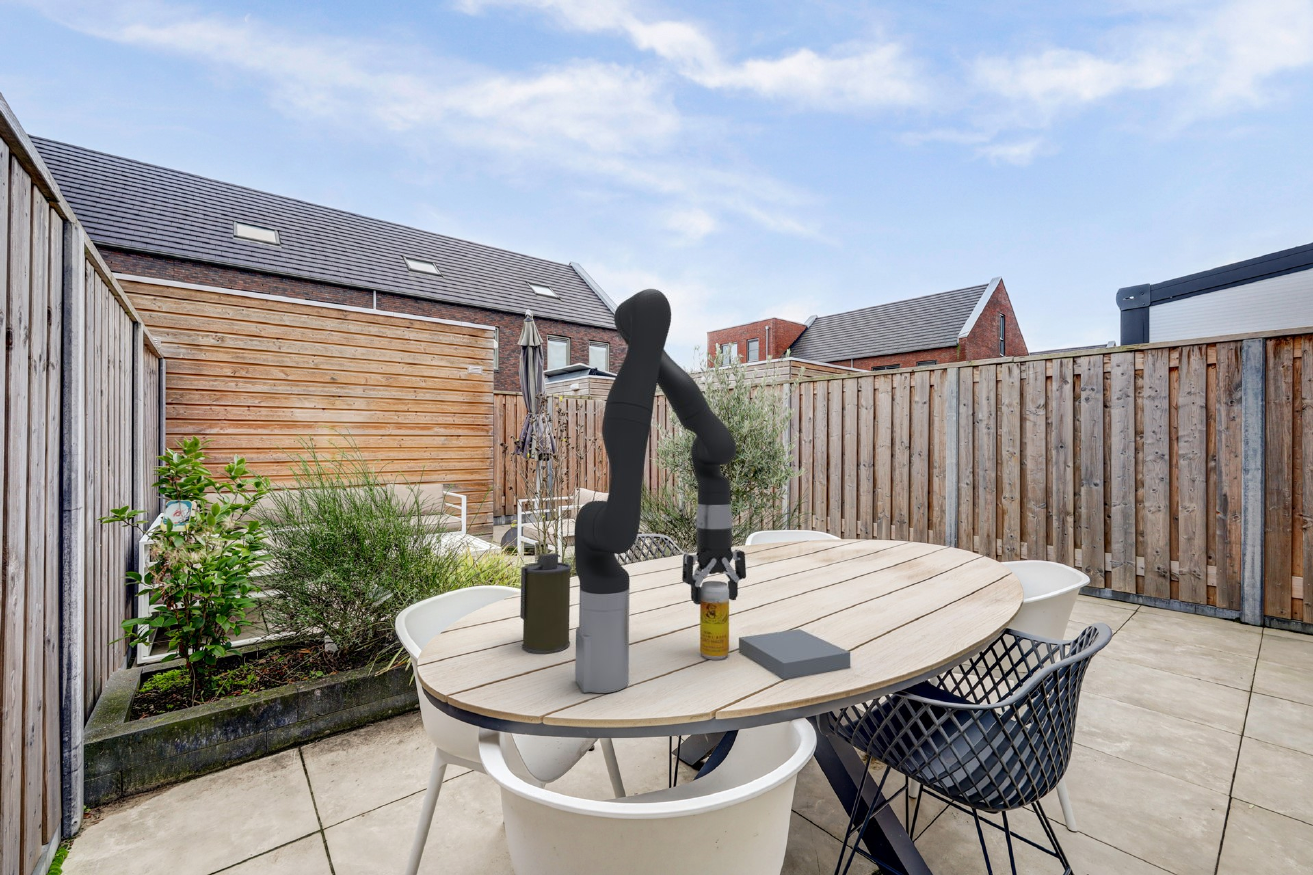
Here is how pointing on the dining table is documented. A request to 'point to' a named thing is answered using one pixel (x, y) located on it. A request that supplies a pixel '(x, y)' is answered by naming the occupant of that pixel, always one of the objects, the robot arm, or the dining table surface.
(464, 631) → the dining table surface
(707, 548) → the robot arm
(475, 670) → the dining table surface
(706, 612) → the beer can
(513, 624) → the dining table surface
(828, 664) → the stand
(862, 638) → the dining table surface
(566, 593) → the canister
